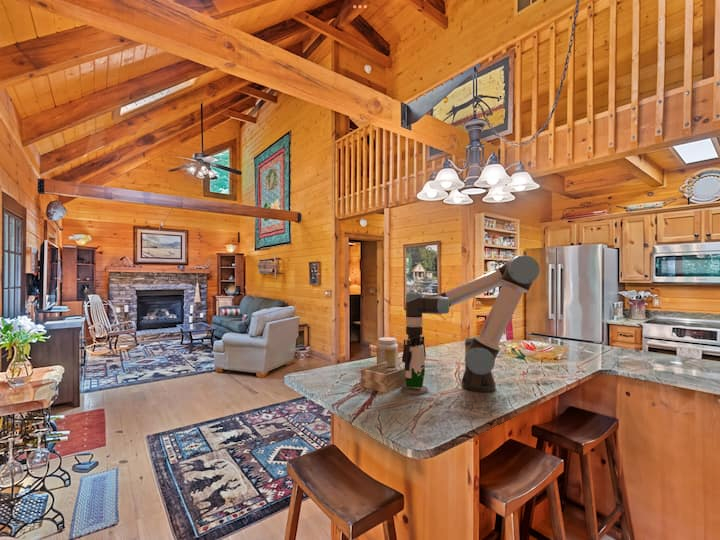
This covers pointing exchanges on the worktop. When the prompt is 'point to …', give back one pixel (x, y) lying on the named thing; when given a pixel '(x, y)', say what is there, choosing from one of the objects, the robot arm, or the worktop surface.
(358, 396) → the worktop surface
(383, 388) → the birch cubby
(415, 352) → the soya milk
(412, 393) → the slate coaster
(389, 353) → the supplement tub
